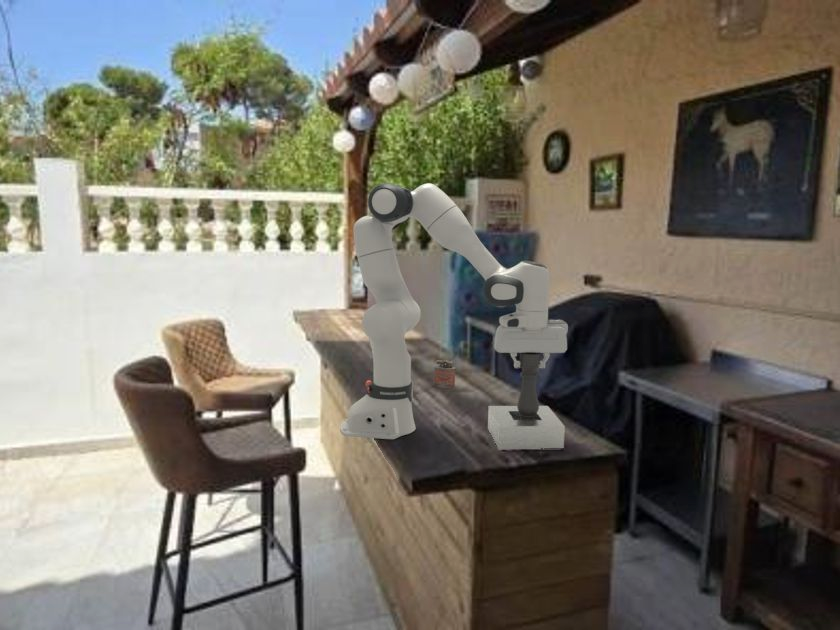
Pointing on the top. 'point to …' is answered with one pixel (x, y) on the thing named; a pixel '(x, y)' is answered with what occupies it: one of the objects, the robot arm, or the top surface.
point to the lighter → (444, 374)
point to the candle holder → (528, 386)
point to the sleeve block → (525, 429)
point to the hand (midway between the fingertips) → (529, 367)
